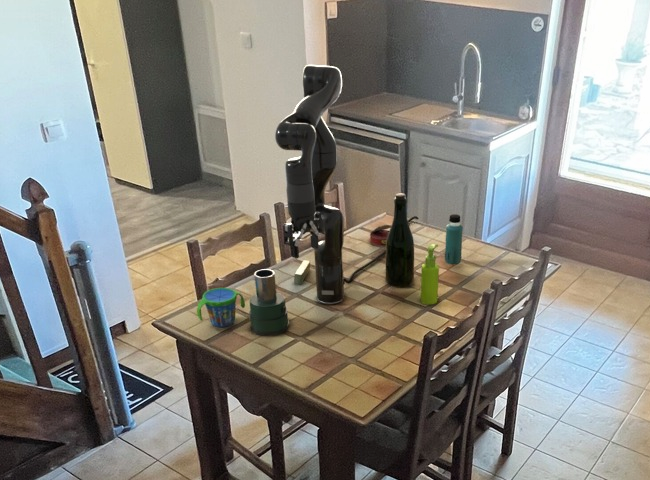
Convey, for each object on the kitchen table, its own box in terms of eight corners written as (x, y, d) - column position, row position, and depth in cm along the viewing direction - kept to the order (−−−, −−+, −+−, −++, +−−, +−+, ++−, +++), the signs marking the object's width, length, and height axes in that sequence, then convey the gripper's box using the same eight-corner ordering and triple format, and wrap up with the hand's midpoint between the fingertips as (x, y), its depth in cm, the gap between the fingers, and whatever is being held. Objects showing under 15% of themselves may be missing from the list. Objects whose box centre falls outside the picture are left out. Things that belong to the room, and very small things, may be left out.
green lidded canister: (263, 314, 228) (260, 287, 223) (296, 321, 225) (294, 294, 219) (242, 331, 219) (239, 303, 213) (276, 339, 215) (273, 311, 210)
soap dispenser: (441, 297, 241) (443, 244, 231) (433, 306, 236) (435, 252, 225) (425, 294, 243) (427, 241, 233) (417, 302, 238) (419, 248, 227)
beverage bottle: (464, 263, 266) (467, 214, 255) (455, 269, 261) (458, 219, 250) (449, 259, 269) (452, 210, 258) (440, 265, 264) (443, 216, 253)
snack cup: (240, 310, 230) (236, 282, 225) (252, 323, 223) (249, 295, 218) (194, 321, 223) (189, 293, 218) (205, 336, 216) (200, 307, 210)
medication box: (301, 285, 247) (301, 275, 245) (293, 283, 247) (294, 273, 245) (310, 270, 257) (310, 260, 255) (303, 269, 257) (303, 259, 255)
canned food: (373, 255, 282) (361, 235, 277) (378, 243, 289) (367, 223, 284) (397, 246, 277) (385, 225, 272) (401, 234, 285) (390, 213, 280)
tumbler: (263, 293, 220) (261, 267, 215) (280, 296, 218) (277, 271, 213) (253, 301, 215) (250, 275, 210) (270, 304, 213) (267, 279, 208)
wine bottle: (397, 291, 245) (398, 201, 227) (379, 280, 251) (378, 193, 234) (419, 282, 251) (422, 195, 233) (401, 273, 257) (402, 187, 240)
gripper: (307, 188, 196) (311, 242, 205) (272, 202, 186) (278, 257, 194) (327, 193, 193) (331, 247, 201) (293, 207, 182) (298, 263, 191)
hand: (305, 252), depth 198 cm, fingers open, 8 cm apart
